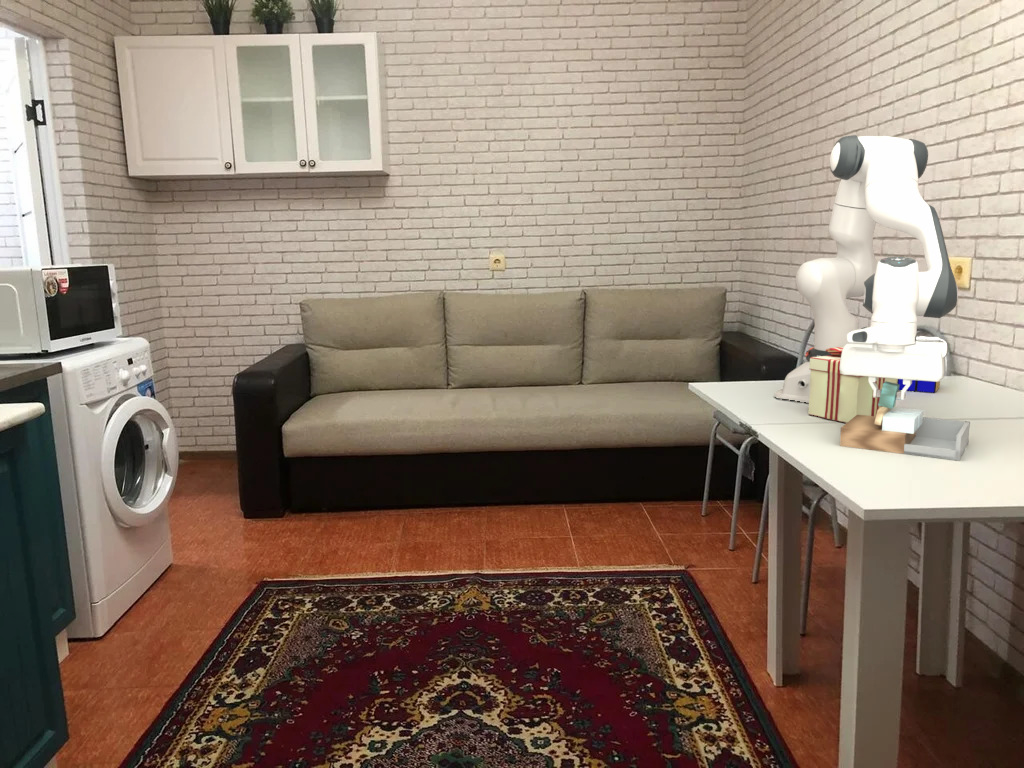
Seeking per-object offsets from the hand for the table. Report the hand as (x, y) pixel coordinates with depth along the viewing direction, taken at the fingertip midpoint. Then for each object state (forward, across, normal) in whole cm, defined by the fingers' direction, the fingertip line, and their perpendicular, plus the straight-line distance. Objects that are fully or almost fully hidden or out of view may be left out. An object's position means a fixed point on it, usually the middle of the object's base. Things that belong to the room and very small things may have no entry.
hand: (888, 398), depth 167 cm
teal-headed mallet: (+5, +1, 0) cm, 5 cm away
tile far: (+6, -3, -3) cm, 7 cm away
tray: (+10, -10, 0) cm, 14 cm away
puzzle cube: (+10, +4, -70) cm, 71 cm away
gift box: (+10, +12, -24) cm, 29 cm away
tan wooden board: (+10, +2, 0) cm, 10 cm away
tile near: (+6, -3, +3) cm, 7 cm away
